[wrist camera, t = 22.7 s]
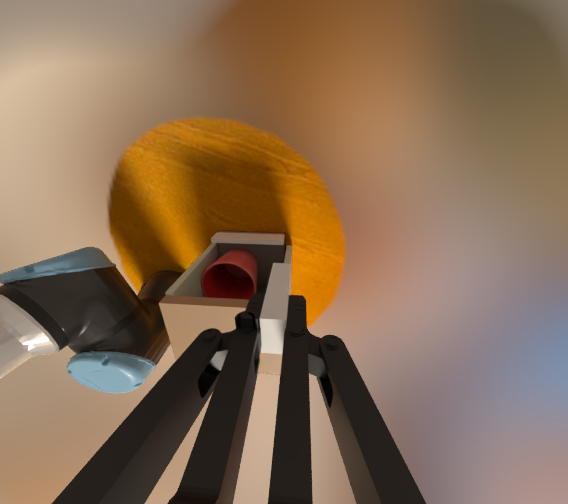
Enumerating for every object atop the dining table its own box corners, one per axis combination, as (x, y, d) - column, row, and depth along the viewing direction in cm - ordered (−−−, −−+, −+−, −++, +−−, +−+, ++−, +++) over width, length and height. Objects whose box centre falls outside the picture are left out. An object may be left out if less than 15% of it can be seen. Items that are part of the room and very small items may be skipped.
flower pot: (270, 250, 48) (263, 272, 39) (257, 288, 53) (248, 316, 44) (223, 234, 47) (205, 254, 38) (214, 275, 52) (196, 301, 43)
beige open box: (219, 293, 55) (178, 367, 37) (212, 242, 49) (157, 300, 30) (290, 296, 54) (285, 375, 35) (292, 245, 48) (286, 307, 29)
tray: (225, 286, 54) (219, 296, 50) (218, 230, 48) (210, 238, 44) (284, 288, 53) (282, 300, 49) (284, 233, 47) (283, 240, 43)
